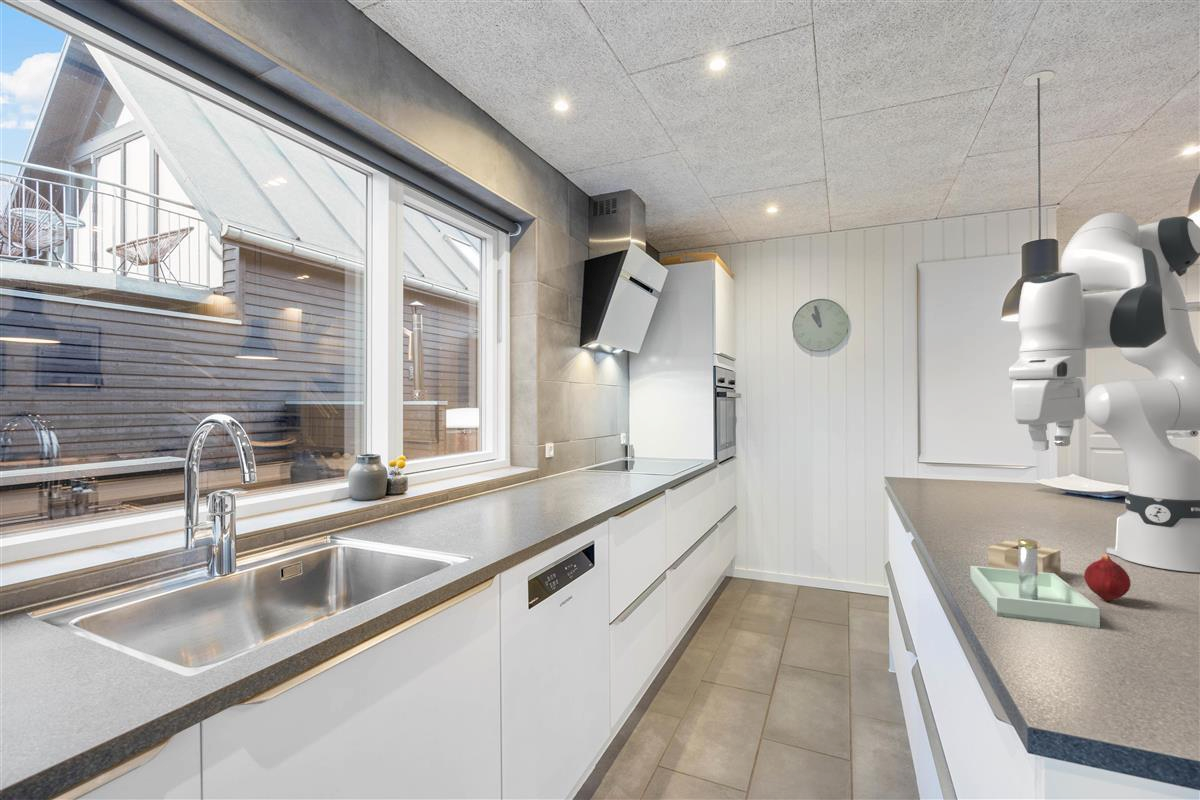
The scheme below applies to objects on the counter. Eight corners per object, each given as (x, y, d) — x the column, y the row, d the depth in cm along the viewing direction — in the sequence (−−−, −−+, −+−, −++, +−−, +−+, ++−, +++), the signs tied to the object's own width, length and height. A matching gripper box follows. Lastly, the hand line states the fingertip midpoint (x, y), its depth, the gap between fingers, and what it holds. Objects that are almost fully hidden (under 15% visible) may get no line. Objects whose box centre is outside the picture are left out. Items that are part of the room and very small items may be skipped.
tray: (970, 581, 104) (970, 565, 104) (1054, 589, 99) (1054, 573, 99) (997, 615, 87) (996, 597, 87) (1099, 628, 82) (1099, 608, 82)
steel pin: (1022, 594, 95) (1021, 538, 95) (1040, 599, 93) (1039, 541, 93) (1016, 597, 93) (1015, 540, 93) (1034, 602, 91) (1033, 543, 91)
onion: (1140, 608, 89) (1139, 560, 90) (1099, 606, 91) (1099, 559, 91) (1114, 595, 95) (1113, 551, 95) (1076, 594, 96) (1076, 549, 96)
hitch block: (1007, 563, 114) (1007, 540, 114) (1060, 575, 107) (1060, 550, 107) (988, 571, 109) (988, 547, 109) (1042, 584, 102) (1042, 557, 102)
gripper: (1052, 368, 100) (1052, 442, 101) (1003, 369, 89) (1004, 451, 90) (1096, 367, 95) (1097, 444, 95) (1050, 367, 84) (1051, 455, 84)
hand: (1051, 448), depth 92 cm, fingers open, 8 cm apart
